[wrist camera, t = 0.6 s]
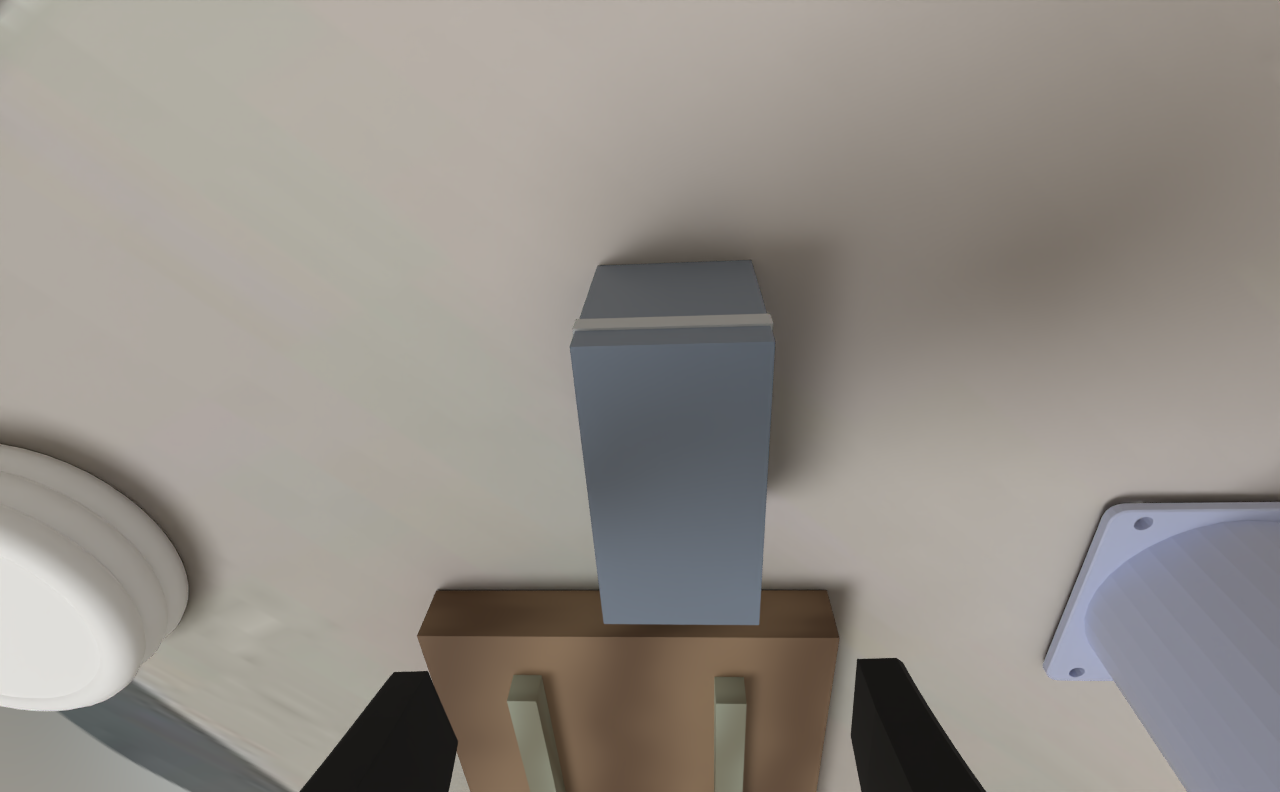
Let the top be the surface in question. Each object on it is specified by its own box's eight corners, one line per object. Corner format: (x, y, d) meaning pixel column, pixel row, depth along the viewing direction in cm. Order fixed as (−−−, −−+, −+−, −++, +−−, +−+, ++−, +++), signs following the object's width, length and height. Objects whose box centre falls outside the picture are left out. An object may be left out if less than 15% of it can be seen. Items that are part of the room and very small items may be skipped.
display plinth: (826, 590, 22) (846, 665, 20) (799, 806, 29) (810, 882, 27) (436, 590, 23) (406, 661, 21) (499, 799, 30) (483, 871, 28)
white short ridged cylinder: (207, 499, 22) (132, 576, 19) (187, 665, 27) (124, 748, 24) (-116, 390, 20) (-255, 454, 17) (-76, 588, 25) (-179, 666, 22)
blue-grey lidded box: (752, 256, 17) (778, 339, 12) (744, 500, 21) (761, 626, 16) (596, 262, 17) (566, 344, 13) (618, 501, 21) (602, 625, 17)
